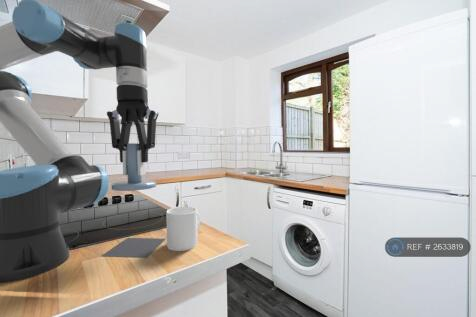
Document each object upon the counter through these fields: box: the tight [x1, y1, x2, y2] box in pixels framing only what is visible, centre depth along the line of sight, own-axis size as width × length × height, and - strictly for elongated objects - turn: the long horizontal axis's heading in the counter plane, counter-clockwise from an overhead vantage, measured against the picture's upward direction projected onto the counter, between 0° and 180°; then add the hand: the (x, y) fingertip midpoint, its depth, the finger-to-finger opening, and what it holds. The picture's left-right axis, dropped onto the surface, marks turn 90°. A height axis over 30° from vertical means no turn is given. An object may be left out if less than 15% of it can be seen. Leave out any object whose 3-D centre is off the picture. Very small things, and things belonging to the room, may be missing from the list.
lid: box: [111, 143, 157, 192], centre depth 62 cm, size 11×11×12 cm
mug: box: [165, 206, 201, 252], centre depth 66 cm, size 12×8×10 cm
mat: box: [101, 237, 166, 259], centre depth 63 cm, size 12×12×1 cm
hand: (134, 174), depth 62 cm, fingers closed on lid, 3 cm apart
